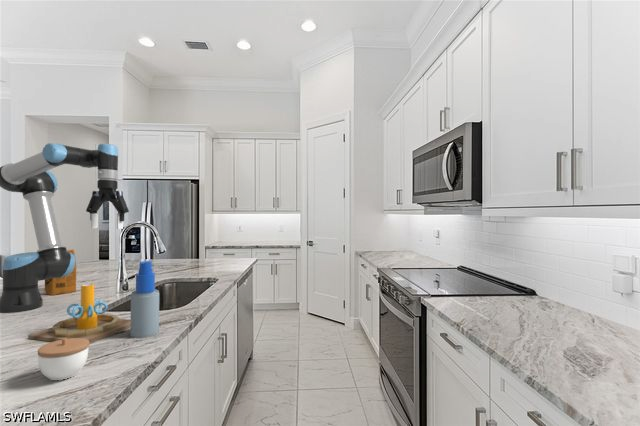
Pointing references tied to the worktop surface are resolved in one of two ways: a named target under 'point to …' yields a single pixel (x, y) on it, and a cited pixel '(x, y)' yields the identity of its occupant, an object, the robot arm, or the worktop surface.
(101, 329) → the tan flat ring
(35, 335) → the seat plate
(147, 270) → the spray bottle
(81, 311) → the cylinder
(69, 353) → the lidded jar
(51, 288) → the coffee package
